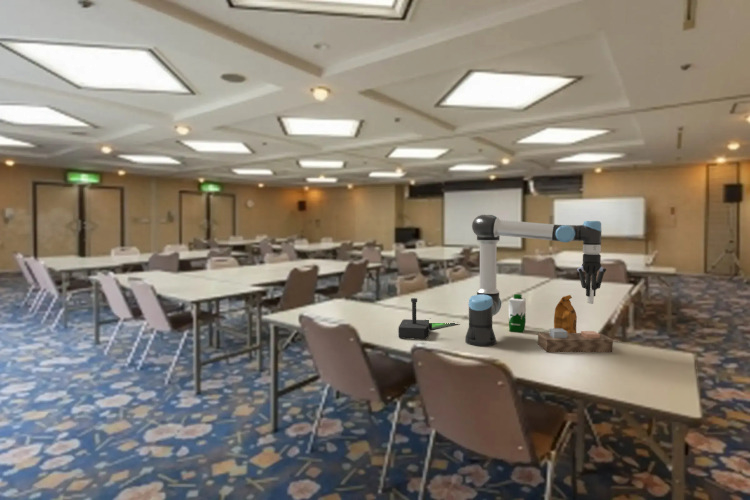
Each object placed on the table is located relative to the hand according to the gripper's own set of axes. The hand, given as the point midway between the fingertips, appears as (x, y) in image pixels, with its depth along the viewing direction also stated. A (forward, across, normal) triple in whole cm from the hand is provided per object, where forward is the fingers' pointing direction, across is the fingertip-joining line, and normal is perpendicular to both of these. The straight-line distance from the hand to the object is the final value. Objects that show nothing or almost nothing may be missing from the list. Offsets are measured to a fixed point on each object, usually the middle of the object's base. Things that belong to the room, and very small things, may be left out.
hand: (590, 303), depth 199 cm
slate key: (+18, -15, 0) cm, 23 cm away
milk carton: (+22, -24, +34) cm, 47 cm away
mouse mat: (+23, -69, +51) cm, 89 cm away
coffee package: (+22, -3, +20) cm, 30 cm away
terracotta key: (+19, 0, 0) cm, 19 cm away
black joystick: (+23, -81, +26) cm, 88 cm away
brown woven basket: (+22, -7, 0) cm, 23 cm away
